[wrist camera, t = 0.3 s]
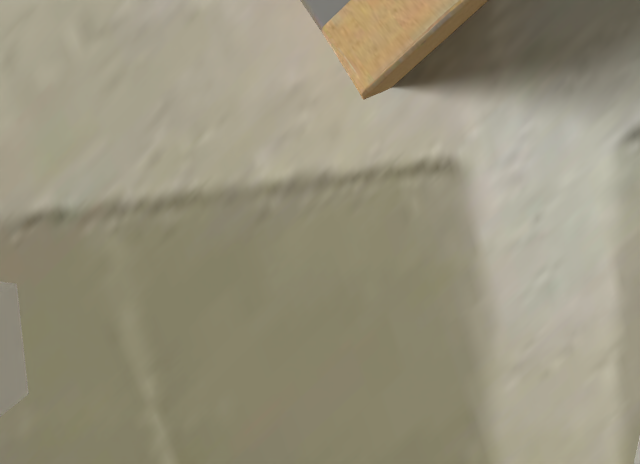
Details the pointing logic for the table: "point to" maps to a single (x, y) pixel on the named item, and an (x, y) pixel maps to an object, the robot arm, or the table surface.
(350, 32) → the sandwich container
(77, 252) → the table surface
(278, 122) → the table surface
